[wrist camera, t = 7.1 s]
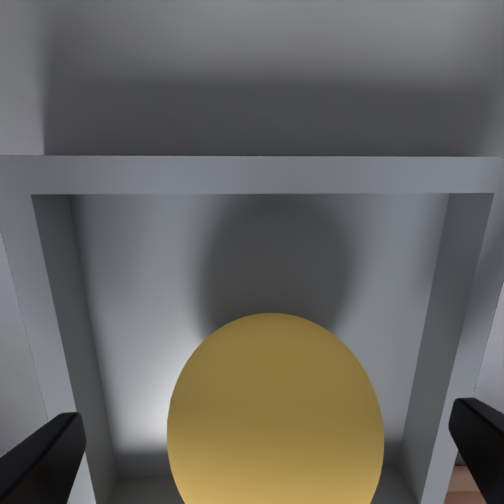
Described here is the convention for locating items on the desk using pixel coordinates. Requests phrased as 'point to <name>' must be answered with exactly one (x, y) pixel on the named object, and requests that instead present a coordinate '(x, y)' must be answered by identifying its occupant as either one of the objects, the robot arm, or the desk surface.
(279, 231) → the tray
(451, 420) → the robot arm
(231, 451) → the ball
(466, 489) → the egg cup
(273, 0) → the desk surface
